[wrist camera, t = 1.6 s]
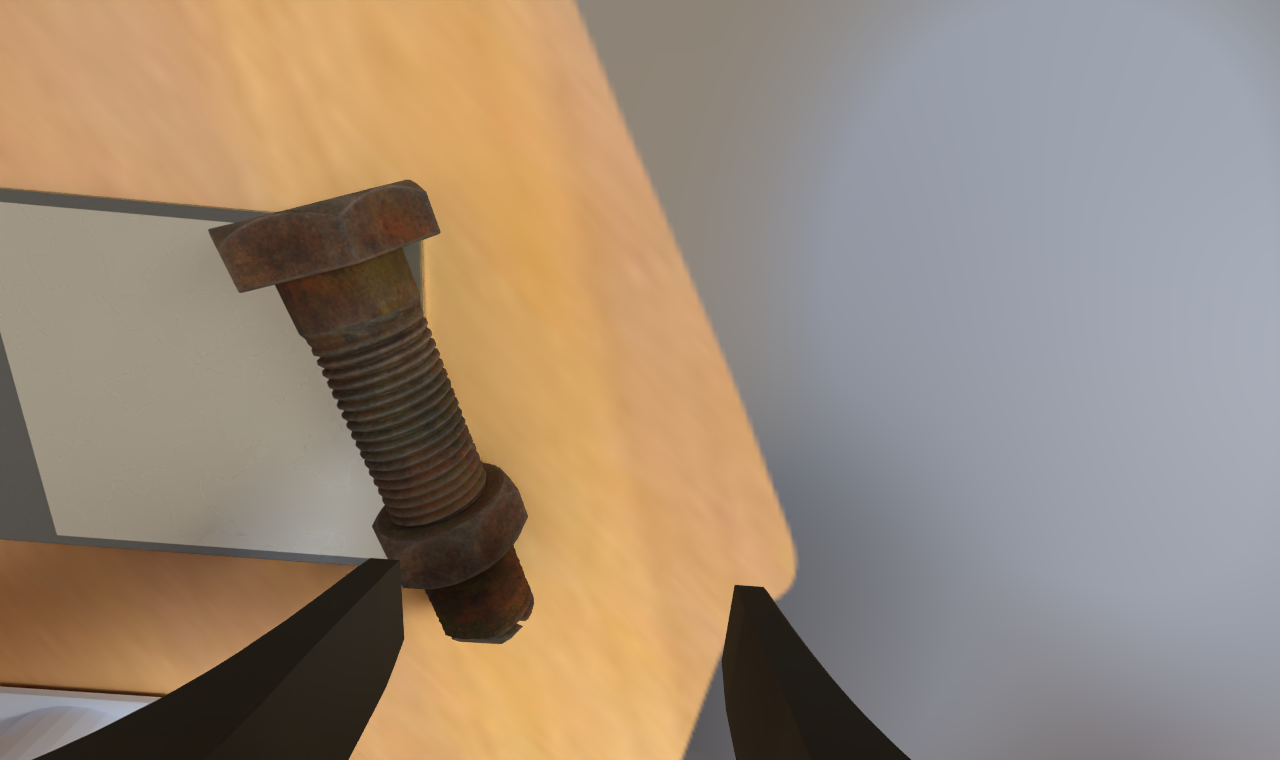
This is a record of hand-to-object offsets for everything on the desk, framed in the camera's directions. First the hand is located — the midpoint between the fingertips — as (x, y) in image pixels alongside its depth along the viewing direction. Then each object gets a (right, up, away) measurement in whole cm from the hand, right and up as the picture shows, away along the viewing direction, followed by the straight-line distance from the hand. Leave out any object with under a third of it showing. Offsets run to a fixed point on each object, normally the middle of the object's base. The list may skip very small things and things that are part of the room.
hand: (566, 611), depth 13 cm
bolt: (-6, +4, +9) cm, 11 cm away
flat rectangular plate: (-20, +5, +8) cm, 22 cm away
